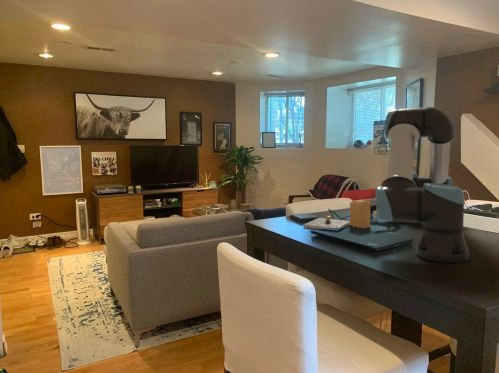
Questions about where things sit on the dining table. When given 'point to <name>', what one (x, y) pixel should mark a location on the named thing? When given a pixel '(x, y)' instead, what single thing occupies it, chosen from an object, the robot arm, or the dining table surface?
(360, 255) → the dining table surface
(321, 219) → the plate
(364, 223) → the wooden block
